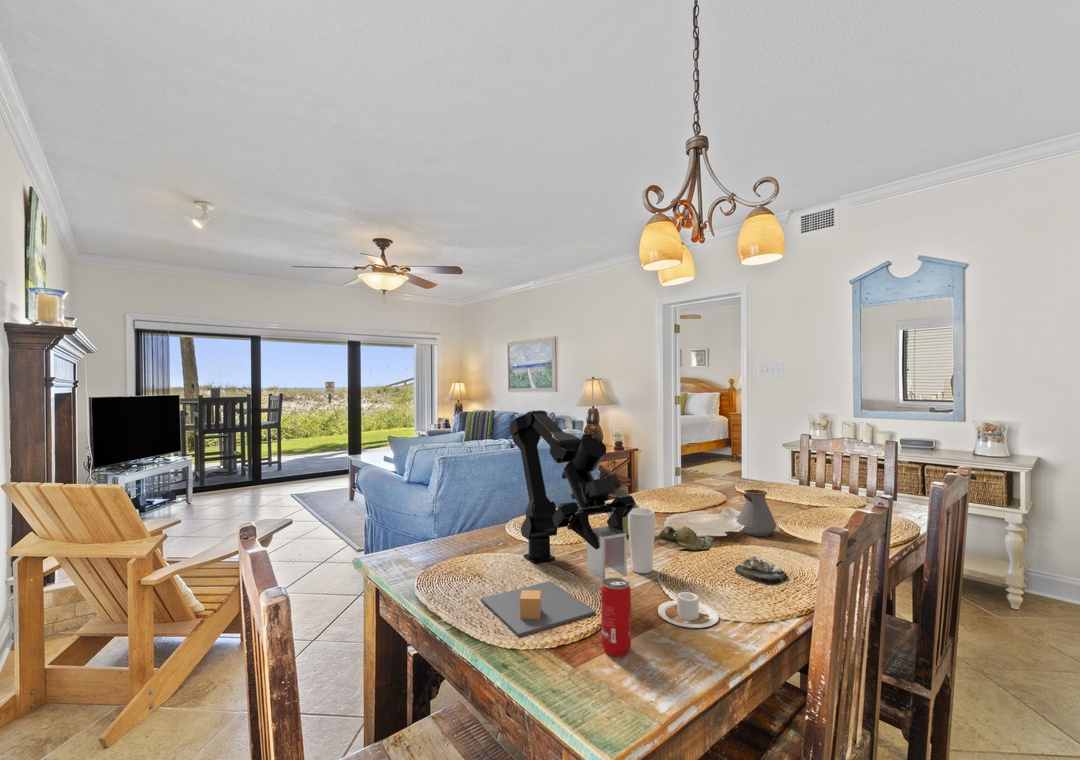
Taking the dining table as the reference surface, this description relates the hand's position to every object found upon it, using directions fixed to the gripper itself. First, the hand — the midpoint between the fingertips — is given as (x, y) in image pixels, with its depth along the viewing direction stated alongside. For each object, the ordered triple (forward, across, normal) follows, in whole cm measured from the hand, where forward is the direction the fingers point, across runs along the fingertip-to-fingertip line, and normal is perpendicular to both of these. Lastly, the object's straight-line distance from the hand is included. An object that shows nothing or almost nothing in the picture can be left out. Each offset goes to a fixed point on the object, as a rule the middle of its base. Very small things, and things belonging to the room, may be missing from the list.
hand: (610, 546), depth 104 cm
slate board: (+4, -13, +16) cm, 21 cm away
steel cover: (+3, 0, +5) cm, 6 cm away
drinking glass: (-1, +19, +20) cm, 28 cm away
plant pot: (-20, +34, +39) cm, 55 cm away
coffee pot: (-5, +66, +24) cm, 71 cm away
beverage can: (+19, -8, 0) cm, 21 cm away
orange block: (+6, -16, +13) cm, 21 cm away
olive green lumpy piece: (-9, +45, +29) cm, 55 cm away
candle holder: (+16, +13, +4) cm, 21 cm away
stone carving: (+11, +44, +9) cm, 46 cm away
